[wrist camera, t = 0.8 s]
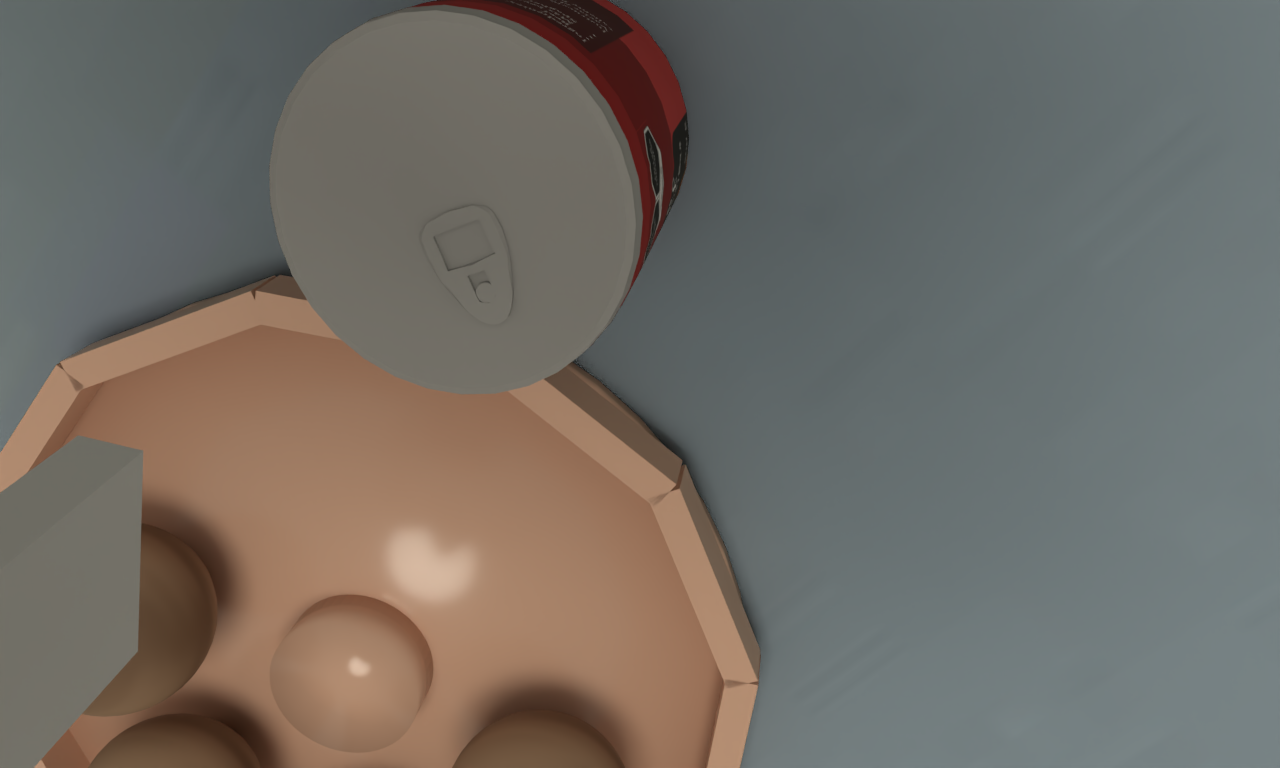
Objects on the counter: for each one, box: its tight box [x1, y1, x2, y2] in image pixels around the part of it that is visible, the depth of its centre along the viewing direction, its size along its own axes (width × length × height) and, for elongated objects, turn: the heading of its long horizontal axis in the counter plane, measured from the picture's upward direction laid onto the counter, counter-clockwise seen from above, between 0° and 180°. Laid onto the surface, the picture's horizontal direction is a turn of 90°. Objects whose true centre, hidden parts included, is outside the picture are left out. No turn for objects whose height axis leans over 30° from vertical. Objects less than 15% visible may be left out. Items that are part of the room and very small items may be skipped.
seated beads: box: [82, 523, 625, 768], centre depth 39 cm, size 18×18×6 cm
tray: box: [0, 275, 761, 768], centre depth 40 cm, size 26×26×2 cm
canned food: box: [269, 0, 689, 394], centre depth 29 cm, size 8×8×11 cm
